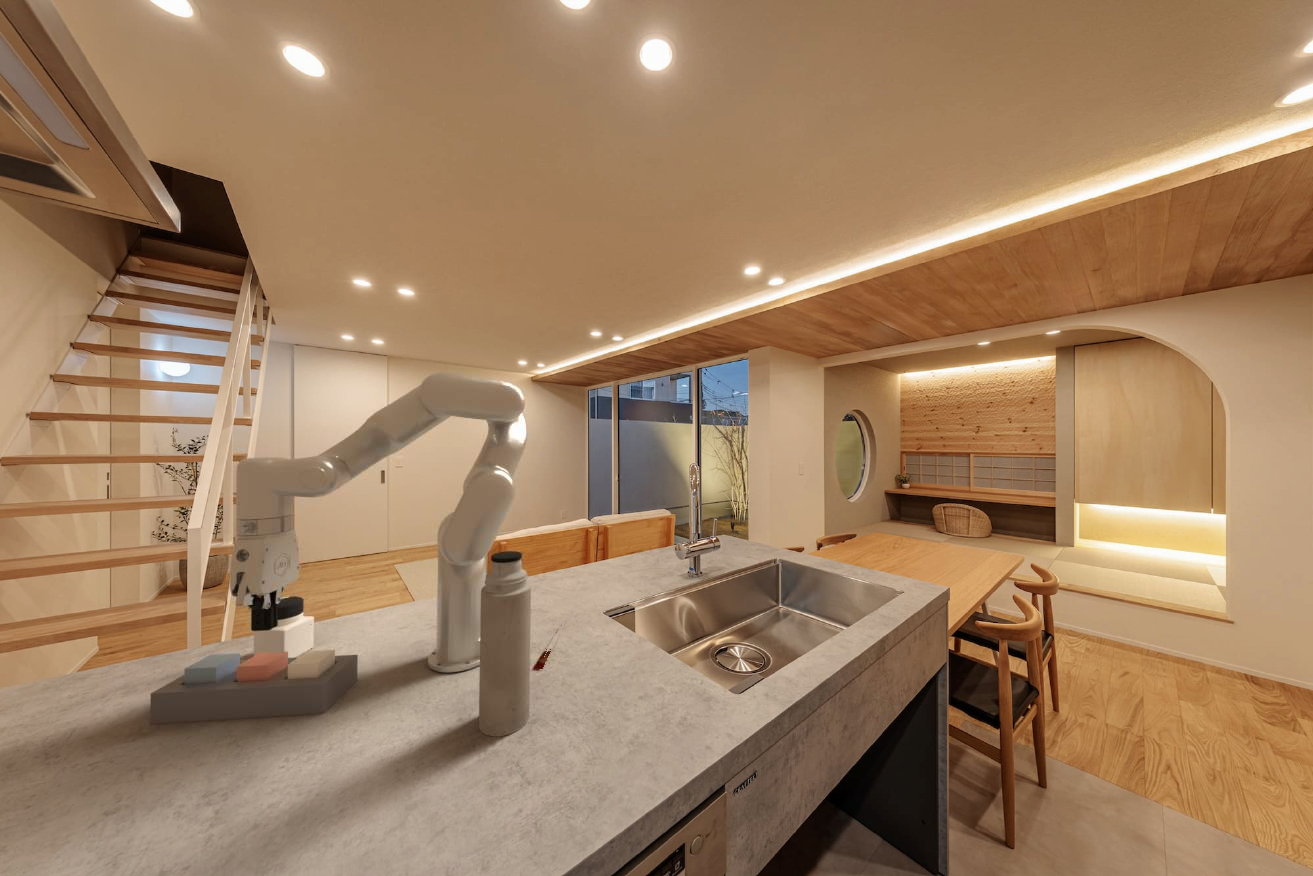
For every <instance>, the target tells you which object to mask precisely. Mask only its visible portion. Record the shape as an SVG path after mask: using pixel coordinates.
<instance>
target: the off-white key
mask: <svg viewBox="0 0 1313 876" xmlns="http://www.w3.org/2000/svg"><path fill="white" fill-rule="evenodd" d="M335 656H336V650H335V649H324V650H309V651H306V652H305V653H303V654H301V655H299V656H297V657H298V658H297V657H296V658H297V659H295V660H294V661H292V662H291V663H290V664H288V679H302V678H319V677H320V676H321V675H322V674H323V673H325V672H326V671H327V670H328V669H330V668H331V667H332V666H333V665H334V664H335Z"/></svg>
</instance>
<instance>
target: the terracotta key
mask: <svg viewBox="0 0 1313 876" xmlns="http://www.w3.org/2000/svg"><path fill="white" fill-rule="evenodd" d="M246 660H247V661H245V662H244V663H242V664H240V665H239V666H237V682H245V681H264V680H269V679H271V678H272V677H273V676H275V675H276V674H278V673H279V672H280V671H282V670H283V669H285V668H286V667H287V666H288V652H266V653H258V654H257V655H255V656H254V655H253V656H251V658H249V659H246Z"/></svg>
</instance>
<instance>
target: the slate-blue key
mask: <svg viewBox="0 0 1313 876" xmlns="http://www.w3.org/2000/svg"><path fill="white" fill-rule="evenodd" d="M240 660H241V653H240V652H238V653H217V654H213V653H212V654H209V655H207V656H205V657H203V658H202V659H200V660H198V661H196V662H194V663H193V664H191V665H188V666H186V667H184V675H185V676H184V685H187V684H207V683H217V682H219V681H220V680H222V679H224V678H225V677H227V676H228V675H230V674H232V673H233V672H235V671H236V670H237V666H239V665H240Z"/></svg>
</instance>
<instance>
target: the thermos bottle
mask: <svg viewBox="0 0 1313 876" xmlns="http://www.w3.org/2000/svg"><path fill="white" fill-rule="evenodd" d="M522 557H523V555H522V552H519V551H516V550H515V551H514V550H508V551H499V552H495V553H493V554H491V556H490V560H491V564H490V565H491V566H490V567H491V568H490V569H491V570H490V571H489V572H487V573H486V580H485V586H484V587H483V588H482V589H481V613H480V665H479V685H478V686H479V689H478V690H479V692H478V695H479V696H478V698H479V699H478V727H479V730H480V732H482V733H483V734H485V735H487V736H491V737H503V736H507V735H510V734H512V733H515V732H517V731H519V730H521V729H523V727H525V725H526V724H527V723H528V720H529V719H530V685H531V683H530V679H531V672H530V671H531V619H532V618H531V611H532V609H531V607H532V606H531V604H532V585H531V583H530V582H529V581H528V573H527V570H526V569H523V568H522V566H523V565H522V564H523V563H522V561H523V560H522Z"/></svg>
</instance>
